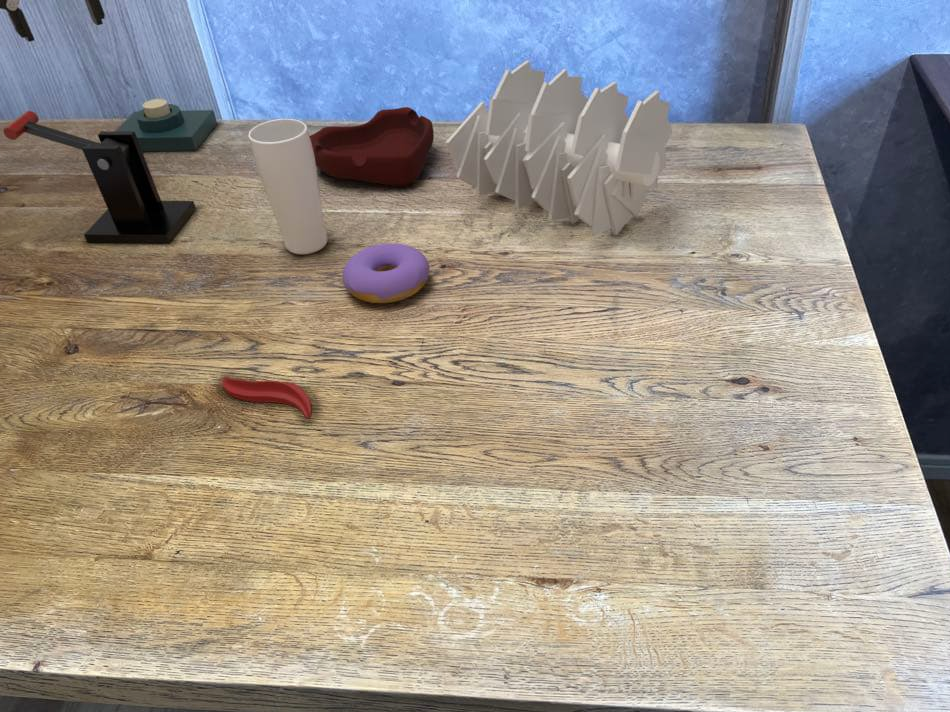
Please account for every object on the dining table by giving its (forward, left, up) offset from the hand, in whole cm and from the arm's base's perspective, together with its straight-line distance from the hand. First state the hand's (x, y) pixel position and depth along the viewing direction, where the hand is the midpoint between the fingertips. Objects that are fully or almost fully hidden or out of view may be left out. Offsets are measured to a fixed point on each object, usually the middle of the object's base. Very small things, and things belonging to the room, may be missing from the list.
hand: (64, 31), depth 105 cm
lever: (+10, -10, -9) cm, 17 cm away
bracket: (+15, -8, -20) cm, 26 cm away
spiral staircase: (+62, +22, -20) cm, 69 cm away
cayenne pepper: (+55, -24, -20) cm, 63 cm away
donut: (+53, -3, -20) cm, 57 cm away
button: (-5, +12, -16) cm, 21 cm away
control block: (-5, +12, -20) cm, 24 cm away
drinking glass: (+38, -1, -20) cm, 43 cm away
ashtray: (+33, +20, -20) cm, 43 cm away
